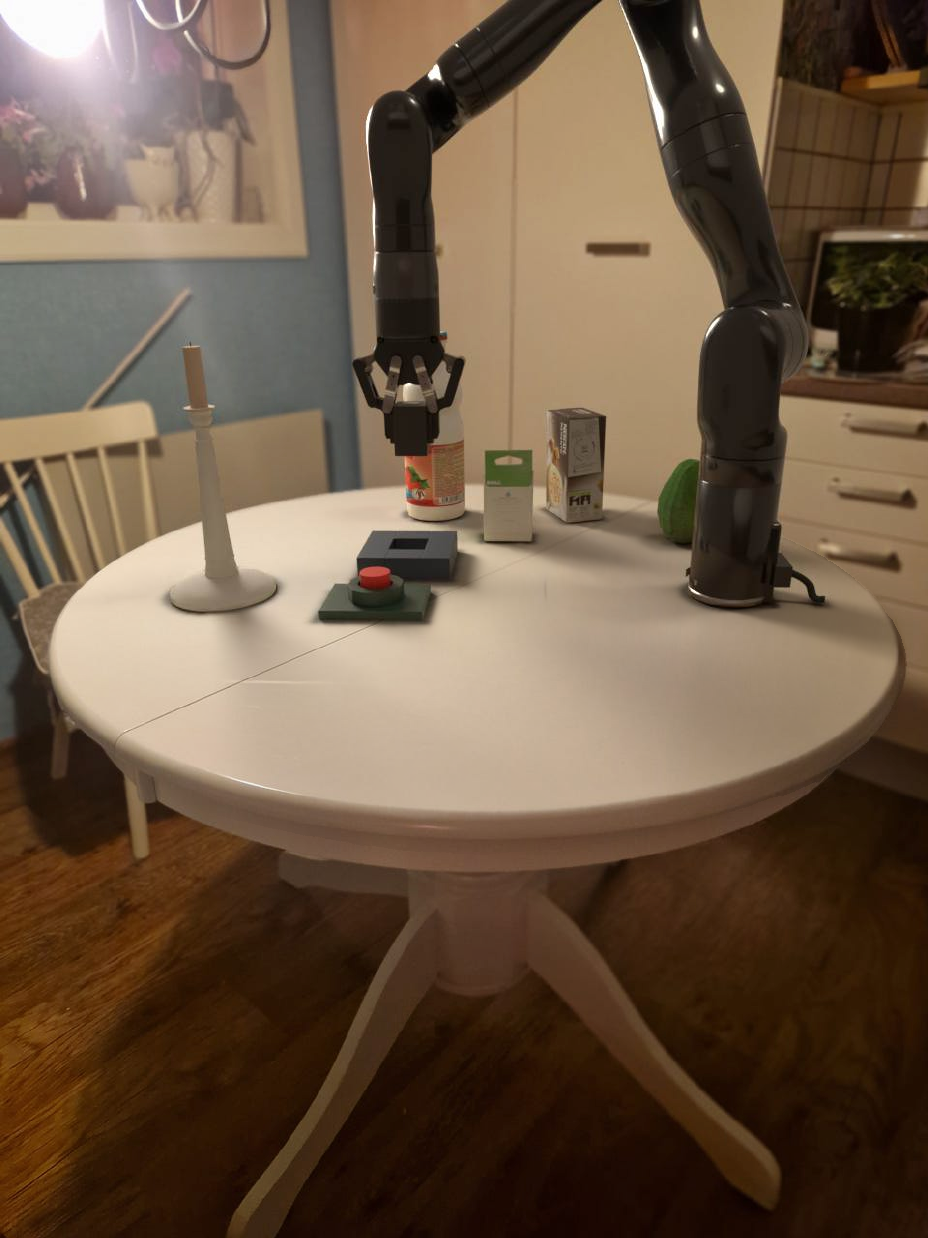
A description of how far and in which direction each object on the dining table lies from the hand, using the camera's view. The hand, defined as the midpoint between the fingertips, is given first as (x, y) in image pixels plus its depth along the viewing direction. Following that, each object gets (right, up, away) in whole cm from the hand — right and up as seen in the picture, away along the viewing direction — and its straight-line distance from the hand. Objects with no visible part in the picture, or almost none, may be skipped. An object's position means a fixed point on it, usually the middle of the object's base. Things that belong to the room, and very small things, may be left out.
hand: (412, 441), depth 107 cm
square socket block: (-1, -15, +10) cm, 18 cm away
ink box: (+13, -10, +20) cm, 26 cm away
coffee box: (+24, -5, +31) cm, 40 cm away
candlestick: (-24, -19, +2) cm, 30 cm away
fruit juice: (+2, -5, +33) cm, 33 cm away
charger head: (0, -1, +1) cm, 1 cm away
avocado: (+38, -11, +17) cm, 43 cm away
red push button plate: (-4, -20, -4) cm, 21 cm away
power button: (-4, -18, -5) cm, 19 cm away
